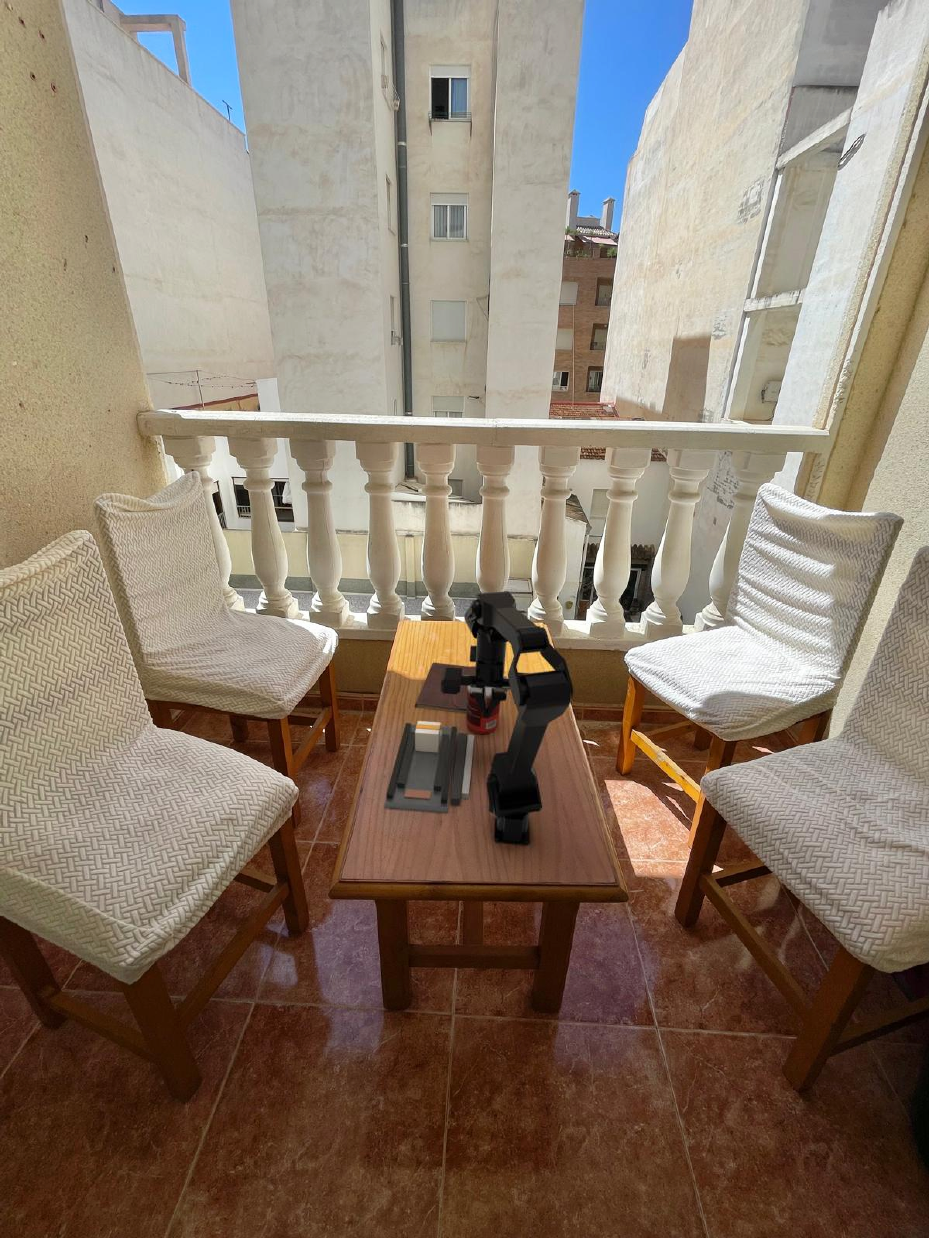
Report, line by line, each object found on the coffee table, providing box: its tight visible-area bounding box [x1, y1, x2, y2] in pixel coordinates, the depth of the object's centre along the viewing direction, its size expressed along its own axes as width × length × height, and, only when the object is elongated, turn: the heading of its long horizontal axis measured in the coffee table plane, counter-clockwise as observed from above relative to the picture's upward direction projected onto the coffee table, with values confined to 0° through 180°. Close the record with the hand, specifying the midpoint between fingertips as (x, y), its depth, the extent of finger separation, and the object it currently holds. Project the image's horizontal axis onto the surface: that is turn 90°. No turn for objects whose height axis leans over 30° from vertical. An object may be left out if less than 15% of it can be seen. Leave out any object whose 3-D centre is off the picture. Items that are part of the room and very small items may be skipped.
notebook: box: [414, 661, 475, 715], centre depth 144 cm, size 15×20×2 cm
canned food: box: [465, 686, 501, 735], centre depth 129 cm, size 8×8×11 cm
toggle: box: [415, 720, 442, 753], centre depth 120 cm, size 4×5×5 cm
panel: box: [384, 722, 459, 814], centre depth 117 cm, size 24×12×3 cm, turn 176°
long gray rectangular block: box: [449, 732, 475, 807], centre depth 117 cm, size 20×3×2 cm, turn 176°
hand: (486, 717), depth 114 cm, fingers closed
